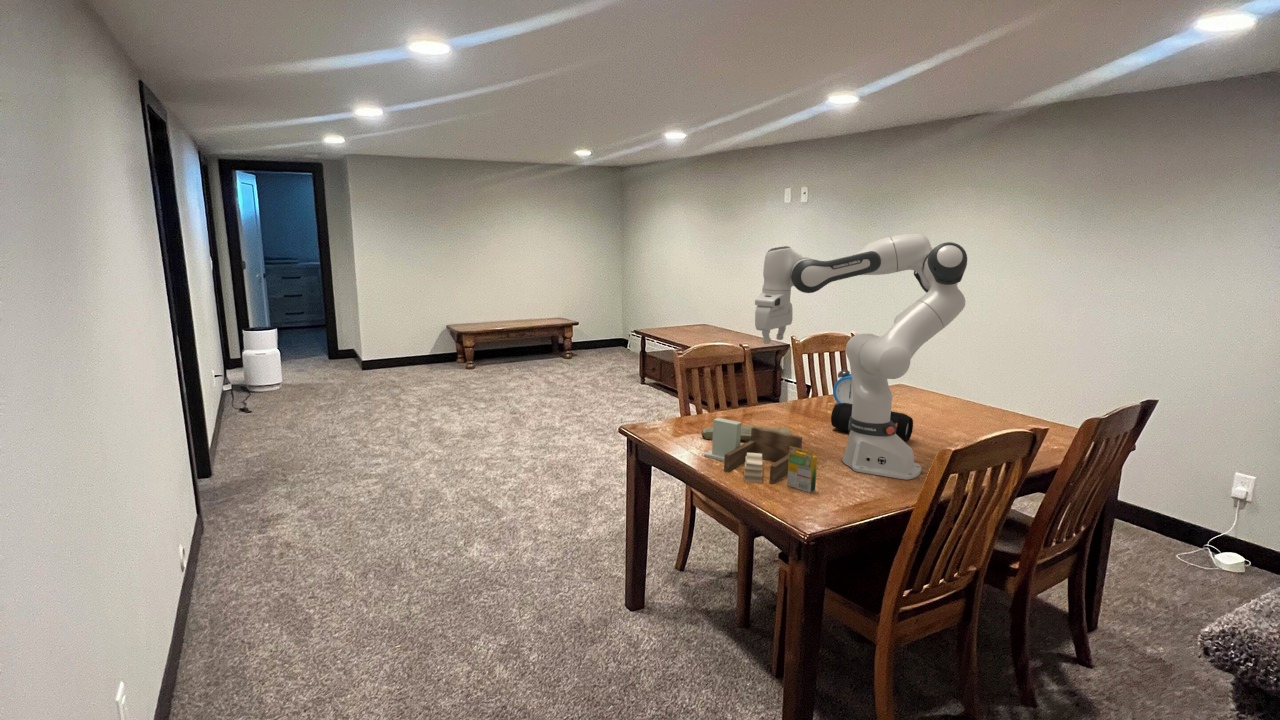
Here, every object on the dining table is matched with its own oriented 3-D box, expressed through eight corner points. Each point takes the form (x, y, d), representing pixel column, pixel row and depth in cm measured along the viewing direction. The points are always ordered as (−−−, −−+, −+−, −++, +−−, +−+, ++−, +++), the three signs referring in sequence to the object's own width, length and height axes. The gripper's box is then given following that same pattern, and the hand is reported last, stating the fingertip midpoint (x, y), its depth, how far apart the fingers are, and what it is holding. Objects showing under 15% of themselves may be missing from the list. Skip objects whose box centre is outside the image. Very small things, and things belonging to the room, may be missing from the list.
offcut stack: (761, 483, 188) (763, 465, 186) (743, 481, 188) (744, 464, 187) (761, 468, 199) (762, 452, 198) (744, 467, 200) (745, 450, 198)
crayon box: (815, 489, 183) (818, 449, 181) (810, 493, 181) (813, 452, 178) (791, 482, 188) (794, 443, 185) (786, 485, 185) (788, 445, 183)
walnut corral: (800, 465, 201) (802, 437, 199) (774, 483, 187) (776, 453, 185) (752, 454, 210) (753, 426, 208) (723, 470, 196) (725, 441, 194)
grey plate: (747, 456, 208) (747, 454, 208) (735, 464, 201) (735, 461, 201) (716, 449, 214) (716, 447, 214) (703, 456, 208) (704, 453, 208)
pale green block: (739, 456, 205) (741, 422, 203) (734, 459, 203) (736, 424, 201) (716, 451, 210) (718, 417, 208) (711, 453, 208) (713, 419, 205)
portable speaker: (828, 431, 235) (831, 404, 233) (839, 425, 243) (842, 399, 241) (903, 447, 220) (906, 418, 218) (912, 440, 227) (915, 412, 225)
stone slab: (701, 422, 234) (788, 422, 232) (701, 433, 234) (787, 433, 233) (702, 432, 222) (794, 432, 220) (702, 444, 222) (794, 444, 221)
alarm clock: (831, 406, 267) (834, 370, 264) (835, 403, 272) (837, 367, 269) (865, 411, 261) (868, 374, 258) (868, 408, 266) (871, 371, 263)
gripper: (780, 295, 221) (778, 336, 224) (752, 300, 205) (749, 344, 208) (798, 296, 218) (795, 338, 220) (771, 301, 202) (768, 347, 204)
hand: (773, 341), depth 214 cm, fingers open, 8 cm apart
